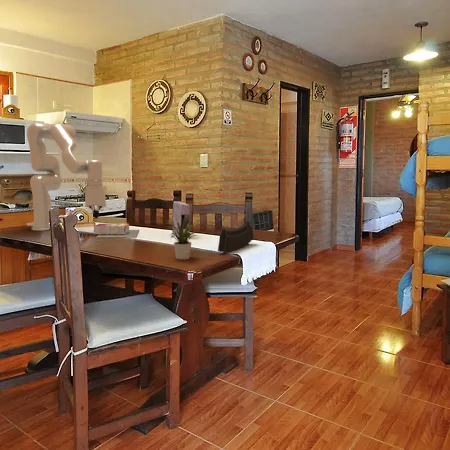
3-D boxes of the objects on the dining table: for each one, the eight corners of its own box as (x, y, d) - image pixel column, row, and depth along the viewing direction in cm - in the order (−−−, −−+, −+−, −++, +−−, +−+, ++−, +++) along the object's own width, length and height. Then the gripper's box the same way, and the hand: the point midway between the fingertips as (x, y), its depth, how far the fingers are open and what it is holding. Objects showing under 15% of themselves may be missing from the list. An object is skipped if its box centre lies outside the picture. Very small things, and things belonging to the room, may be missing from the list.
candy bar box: (99, 222, 244) (129, 223, 244) (99, 232, 244) (129, 232, 245) (93, 225, 233) (125, 225, 233) (93, 234, 233) (125, 235, 233)
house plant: (155, 260, 175) (154, 218, 173) (171, 253, 188) (171, 215, 186) (187, 263, 170) (187, 220, 168) (202, 256, 183) (202, 216, 181)
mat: (96, 238, 227) (96, 236, 227) (103, 231, 251) (103, 230, 251) (136, 237, 230) (136, 236, 230) (139, 230, 253) (139, 229, 253)
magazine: (221, 234, 183) (250, 207, 207) (214, 234, 185) (244, 207, 209) (227, 271, 190) (254, 241, 214) (220, 270, 191) (248, 240, 215)
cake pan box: (190, 238, 229) (190, 204, 226) (180, 238, 227) (180, 204, 225) (180, 233, 246) (180, 201, 244) (172, 233, 245) (171, 201, 242)
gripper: (79, 183, 231) (80, 219, 233) (108, 183, 233) (109, 218, 235) (81, 183, 238) (82, 217, 241) (110, 183, 240) (111, 217, 243)
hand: (96, 218), depth 238 cm, fingers closed
